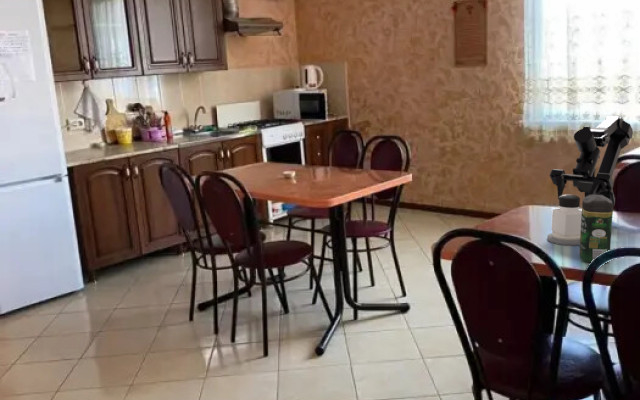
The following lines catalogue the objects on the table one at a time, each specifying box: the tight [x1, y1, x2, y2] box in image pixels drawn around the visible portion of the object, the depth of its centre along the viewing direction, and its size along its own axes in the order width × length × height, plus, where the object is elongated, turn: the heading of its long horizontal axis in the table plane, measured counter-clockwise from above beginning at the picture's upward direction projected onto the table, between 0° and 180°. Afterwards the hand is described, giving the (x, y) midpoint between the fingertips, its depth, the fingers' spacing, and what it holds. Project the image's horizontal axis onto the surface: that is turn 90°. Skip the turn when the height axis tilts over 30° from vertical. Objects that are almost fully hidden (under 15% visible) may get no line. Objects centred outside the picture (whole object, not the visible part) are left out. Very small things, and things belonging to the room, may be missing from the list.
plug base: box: [546, 231, 580, 247], centre depth 198 cm, size 12×12×2 cm
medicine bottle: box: [551, 194, 582, 236], centre depth 197 cm, size 7×7×12 cm
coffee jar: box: [579, 195, 614, 263], centre depth 177 cm, size 10×8×19 cm
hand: (573, 200), depth 199 cm, fingers open, 9 cm apart
